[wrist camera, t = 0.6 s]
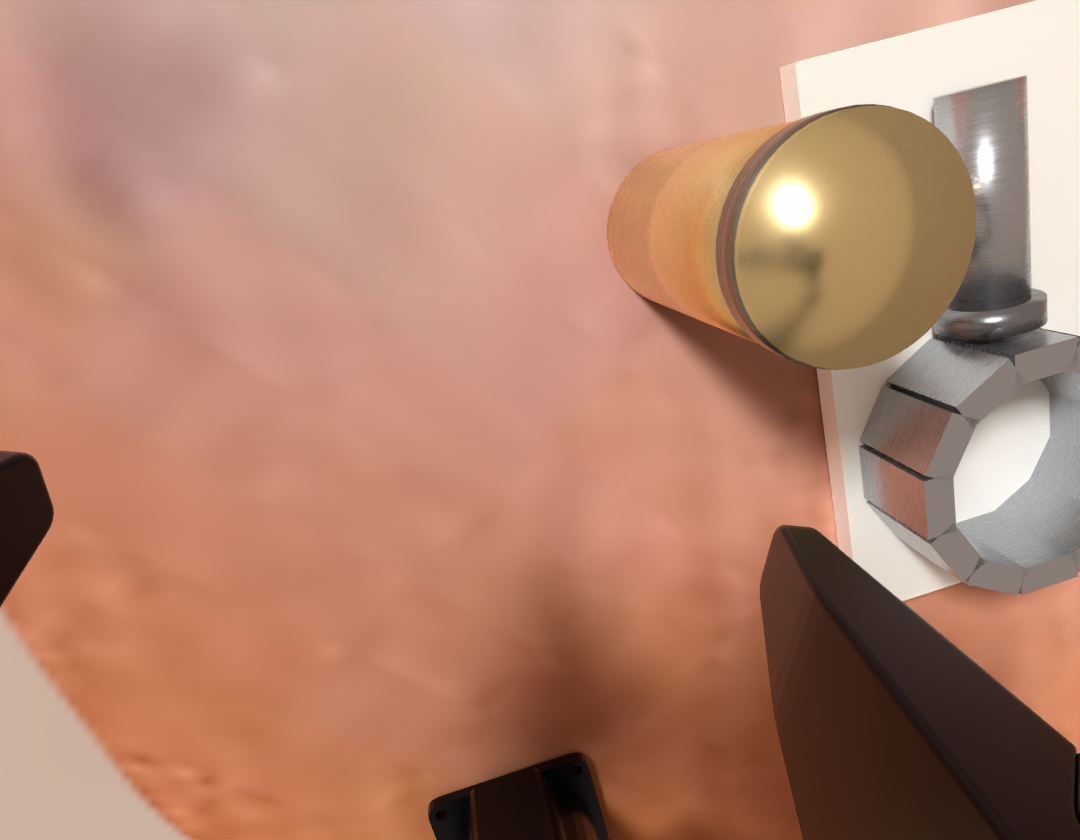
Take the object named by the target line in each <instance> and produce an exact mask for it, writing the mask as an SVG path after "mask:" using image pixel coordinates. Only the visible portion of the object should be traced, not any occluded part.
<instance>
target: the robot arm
mask: <svg viewBox="0 0 1080 840" xmlns="http://www.w3.org/2000/svg"><path fill="white" fill-rule="evenodd" d="M53 516H54V509H53V505H52V502H51V499H50V496H49V493H48V490H47V487H46V484H45V481H44V478H43V476H42V473H41V470H40V467H39V464H38V462H37V461H36V460H35V459H34V457H33V456H31V455H29V454H27V453H21V452H10V451H0V607H1V605H2V604H3V602H4V600H5V599H6V597H7V596H8V594H9V592H10V591H11V589H12V588H13V586H14V584H15V583H16V581H17V580H18V578H19V576H20V575H21V573H22V572H23V570H24V569H25V567H26V565H27V564H28V562H29V561H30V559H31V557H32V556H33V554H34V553H35V551H36V549H37V548H38V546H39V545H40V543H41V542H42V540H43V538H44V537H45V535H46V534H47V532H48V530H49V529H50V527H51V524H52V521H53ZM760 601H761V609H762V618H763V626H764V635H765V643H766V652H767V660H768V669H769V677H770V686H771V695H772V702H773V709H774V716H775V721H776V726H777V730H778V735H779V740H780V744H781V748H782V752H783V756H784V760H785V765H786V769H787V773H788V777H789V781H790V786H791V790H792V794H793V798H794V802H795V806H796V811H797V815H798V819H799V823H800V827H801V832H802V836H803V840H1080V753H1078V754H1076V753H1077V751H1076V747H1075V746H1074V745H1073V744H1072V743H1071V742H1069V741H1068V740H1067V739H1066V738H1065V737H1063V736H1062V735H1061V734H1060V733H1059V732H1058V731H1056V730H1055V729H1054V728H1053V727H1052V726H1050V725H1049V724H1048V723H1047V722H1046V721H1044V720H1043V719H1042V718H1041V717H1040V716H1038V715H1037V714H1036V713H1035V712H1034V711H1032V710H1031V709H1030V708H1029V707H1028V706H1026V705H1025V704H1024V703H1023V702H1022V701H1020V700H1019V699H1018V698H1017V697H1016V696H1015V695H1013V694H1012V693H1011V692H1010V691H1009V690H1007V689H1006V688H1005V687H1004V686H1003V685H1001V684H1000V683H999V682H998V681H997V680H995V679H994V678H993V677H992V676H991V675H989V674H988V673H987V672H986V671H985V670H983V669H982V668H981V667H980V666H979V665H977V664H976V663H975V662H974V661H973V660H972V659H970V658H969V657H968V656H967V655H966V654H964V653H963V652H962V651H961V650H960V649H958V648H957V647H956V646H955V645H954V644H952V643H951V642H950V641H949V640H948V639H946V638H945V637H944V636H943V635H942V634H940V633H939V632H938V631H937V630H936V629H934V628H933V627H932V626H931V625H930V624H928V623H927V622H926V621H925V620H924V619H923V618H921V617H920V616H919V615H918V614H917V613H915V612H914V611H913V610H912V609H911V608H909V607H908V606H907V605H906V604H905V603H903V602H902V601H901V600H900V599H899V598H897V597H896V596H895V595H894V594H893V593H891V592H890V591H889V590H888V589H887V588H885V587H884V586H883V585H882V584H881V583H880V582H878V581H877V580H876V579H875V578H874V577H872V576H871V575H870V574H869V573H868V572H866V571H865V570H864V569H863V568H862V567H860V566H859V565H858V564H857V563H856V562H854V561H853V560H852V559H851V558H850V557H848V556H847V555H846V554H845V553H844V552H842V551H841V550H840V549H839V548H838V547H837V546H835V545H834V544H833V543H832V542H831V541H829V540H828V539H827V538H826V537H825V536H823V535H822V534H821V533H820V532H818V531H817V530H816V529H814V528H810V527H800V526H789V525H781V526H780V527H778V528H777V529H776V531H775V533H774V535H773V538H772V542H771V545H770V549H769V552H768V556H767V559H766V563H765V566H764V570H763V574H762V577H761V583H760ZM576 765H579V766H578V767H577V768H572V767H573V766H576ZM439 810H445V811H444V812H438V811H439ZM428 816H429V821H430V824H431V826H432V829H433V831H434V834H435V836H436V839H437V840H609V838H608V834H607V831H606V827H605V824H604V820H603V817H602V813H601V810H600V806H599V803H598V799H597V796H596V792H595V789H594V785H593V782H592V778H591V775H590V771H589V768H588V764H587V761H586V758H585V757H584V756H583V755H582V754H580V753H572V754H568V755H565V756H562V757H559V758H556V759H553V760H550V761H547V762H544V763H541V764H538V765H535V766H532V767H529V768H526V769H523V770H520V771H517V772H514V773H511V774H508V775H505V776H502V777H499V778H496V779H493V780H490V781H487V782H484V783H480V784H477V785H474V786H471V787H468V788H465V789H462V790H459V791H456V792H453V793H450V794H447V795H444V796H441V797H438V798H436V799H434V800H433V801H432V802H431V803H430V804H429V807H428Z"/></svg>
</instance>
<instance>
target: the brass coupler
mask: <svg viewBox="0 0 1080 840" xmlns="http://www.w3.org/2000/svg"><path fill="white" fill-rule="evenodd" d="M975 233H976V204H975V195H974V191H973V187H972V182H971V179H970V176H969V173H968V171H967V168H966V165H965V163H964V161H963V160H962V158H961V156H960V154H959V152H958V151H957V149H956V148H955V147H954V145H953V144H952V143H951V141H950V140H949V139H948V138H947V137H946V136H945V135H944V134H943V133H942V132H941V131H940V130H939V129H938V128H937V127H936V126H934V125H933V124H931V123H930V122H929V121H927V120H926V119H924V118H922V117H920V116H918V115H916V114H914V113H912V112H909V111H906V110H902V109H899V108H895V107H891V106H885V105H877V104H859V105H852V106H847V107H841V108H837V109H832V110H828V111H824V112H819V113H816V114H813V115H810V116H807V117H804V118H801V119H799V120H796V121H791V122H787V123H783V124H778V125H774V126H769V127H765V128H760V129H756V130H751V131H747V132H742V133H738V134H733V135H729V136H724V137H720V138H716V139H711V140H707V141H702V142H698V143H693V144H689V145H684V146H680V147H675V148H671V149H667V150H664V151H661V152H658V153H656V154H654V155H652V156H650V157H648V158H647V159H645V160H644V161H642V162H641V163H639V164H638V165H637V166H636V167H635V168H634V169H633V170H632V171H631V172H630V173H629V174H628V175H627V176H626V178H625V179H624V180H623V182H622V183H621V185H620V186H619V188H618V190H617V192H616V194H615V196H614V199H613V201H612V204H611V207H610V211H609V216H608V224H607V239H608V246H609V251H610V254H611V258H612V260H613V263H614V265H615V267H616V269H617V271H618V272H619V274H620V276H621V277H622V278H623V280H624V281H625V282H626V283H627V284H628V285H629V286H630V287H631V288H632V289H633V290H634V291H636V292H637V293H638V294H640V295H641V296H643V297H645V298H647V299H649V300H651V301H654V302H656V303H658V304H661V305H663V306H666V307H668V308H671V309H673V310H676V311H678V312H680V313H683V314H685V315H688V316H690V317H693V318H695V319H698V320H700V321H703V322H705V323H707V324H710V325H712V326H715V327H717V328H720V329H722V330H725V331H727V332H729V333H732V334H734V335H737V336H739V337H742V338H744V339H747V340H749V341H752V342H754V343H756V344H759V345H761V346H762V347H764V348H766V349H767V350H769V351H771V352H773V353H775V354H777V355H779V356H782V357H784V358H787V359H789V360H792V361H794V362H797V363H800V364H802V365H805V366H808V367H813V368H818V369H828V370H844V369H855V368H861V367H865V366H870V365H873V364H876V363H879V362H881V361H884V360H887V359H889V358H891V357H893V356H895V355H897V354H899V353H900V352H902V351H903V350H905V349H906V348H908V347H909V346H911V345H912V344H914V343H915V342H916V341H917V340H919V339H920V338H921V337H922V336H923V335H925V334H926V333H927V332H928V331H929V330H930V329H931V328H932V327H933V325H934V324H935V323H936V322H937V321H938V320H939V319H940V317H941V316H942V315H943V314H944V312H945V311H946V310H947V308H948V307H949V305H950V304H951V302H952V300H953V299H954V297H955V296H956V294H957V292H958V290H959V288H960V286H961V284H962V282H963V279H964V277H965V274H966V272H967V269H968V266H969V263H970V260H971V255H972V251H973V247H974V241H975Z"/></svg>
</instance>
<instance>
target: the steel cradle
mask: <svg viewBox="0 0 1080 840" xmlns="http://www.w3.org/2000/svg"><path fill="white" fill-rule="evenodd" d="M933 107H934V123H935V126H936V127H937V128H938V129H939V130H940V131H941V132H942V133H943V134H944V135H945V136H946V137H947V138H948V139H949V140H950V141H951V143H952V144H953V145H954V147H955V148H956V149H957V151H958V152H959V154H960V156H961V158H962V160H963V161H964V163H965V165H966V168H967V171H968V173H969V176H970V179H971V182H972V187H973V191H974V195H975V204H976V233H975V241H974V247H973V251H972V255H971V260H970V263H969V266H968V269H967V272H966V274H965V277H964V279H963V282H962V284H961V286H960V288H959V290H958V292H957V294H956V296H955V297H954V299H953V300H952V302H951V304H950V305H949V307H948V308H947V310H946V311H945V312H944V314H943V315H942V316H941V317H940V319H939V320H938V321H937V322H936V323H935V324H934V325H933V328H934V332H935V333H936V334H937V335H936V339H932V338H930V339H929V340H928V341H927V342H926V343H925V344H924V345H923V346H922V347H921V348H920V349H918V350H917V351H916V352H915V353H914V354H913V355H912V356H911V357H910V358H909V359H908V360H907V361H906V362H905V363H904V364H902V365H901V366H900V367H899V368H898V369H897V370H896V371H895V372H894V373H893V374H892V375H891V376H890V377H889V378H887V379H886V380H885V381H886V382H887V384H888V385H889V386H890V387H891V388H889V387H886V386H881V389H880V391H879V394H878V396H877V399H876V401H875V404H874V406H873V409H872V411H871V413H870V416H869V418H868V421H867V423H866V426H865V428H864V431H863V433H862V436H861V438H860V440H859V441H861V442H862V443H864V445H860V446H859V455H860V464H861V473H862V482H863V492H864V498H865V499H867V501H866V503H867V504H868V505H869V506H870V507H871V508H872V509H873V511H874V512H875V513H876V514H877V515H878V516H879V517H880V519H881V520H882V521H883V522H884V523H885V524H886V525H887V527H888V528H889V529H890V530H891V531H892V532H893V533H894V535H895V536H896V537H898V538H899V539H901V540H902V541H903V542H905V543H906V544H908V545H909V546H911V547H912V548H914V549H915V550H916V551H918V552H919V553H921V554H922V555H924V556H925V557H927V558H928V559H929V560H931V561H932V562H934V563H935V564H937V565H938V566H940V567H941V568H942V569H944V570H945V571H947V572H948V573H950V574H951V575H952V576H954V577H955V578H957V579H958V580H960V581H961V582H963V583H965V584H966V585H970V586H975V587H980V588H984V589H989V590H994V591H999V592H1004V593H1009V594H1014V595H1017V594H1018V592H1019V593H1020V594H1022V595H1023V594H1026V593H1029V592H1032V591H1035V590H1038V589H1041V588H1044V587H1047V586H1050V585H1053V584H1056V583H1059V582H1062V581H1065V580H1069V579H1072V578H1075V577H1078V571H1079V572H1080V336H1078V335H1072V334H1067V333H1062V332H1057V331H1052V330H1047V329H1042V328H1040V327H1042V326H1044V325H1045V324H1046V323H1047V321H1048V312H1047V294H1046V293H1045V292H1044V291H1041V290H1038V289H1033V288H1032V280H1031V234H1030V187H1029V140H1028V94H1027V75H1024V76H1019V77H1014V78H1010V79H1005V80H1001V81H997V82H992V83H988V84H984V85H980V86H976V87H972V88H968V89H964V90H960V91H956V92H952V93H948V94H944V95H941V96H937V97H934V98H933ZM1038 379H1040V380H1041V381H1042V382H1043V384H1044V385H1045V387H1046V388H1047V390H1048V391H1049V404H1050V437H1049V439H1048V441H1047V443H1046V446H1045V448H1044V450H1043V452H1042V454H1041V456H1040V458H1039V460H1038V462H1037V465H1036V467H1035V469H1034V471H1033V473H1032V475H1031V477H1030V479H1029V480H1028V481H1027V482H1026V483H1025V484H1024V485H1022V486H1021V487H1020V488H1019V489H1018V490H1017V491H1016V492H1015V493H1014V494H1012V495H1011V496H1010V497H1009V498H1008V499H1007V500H1006V501H1005V502H1004V503H1002V504H1001V505H1000V506H999V507H998V508H997V509H996V510H995V511H992V512H989V513H986V514H983V515H980V516H977V517H973V518H970V519H967V520H964V521H961V522H958V523H956V513H955V497H954V481H953V477H954V475H955V472H956V470H957V468H958V466H959V463H960V461H961V459H962V457H963V454H964V452H965V450H966V448H967V445H968V443H969V441H970V439H971V436H972V434H973V432H974V430H975V428H976V425H977V424H978V423H979V422H980V421H982V420H983V419H984V418H985V417H986V416H987V415H988V414H989V413H990V412H991V411H992V410H994V409H995V408H996V407H997V406H998V405H999V404H1000V403H1001V402H1002V401H1003V400H1005V399H1006V398H1007V397H1008V396H1009V395H1010V394H1011V393H1012V392H1013V391H1014V390H1015V389H1017V388H1018V387H1019V386H1020V385H1021V384H1025V383H1028V382H1031V381H1035V380H1038Z"/></svg>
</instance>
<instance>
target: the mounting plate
mask: <svg viewBox="0 0 1080 840" xmlns="http://www.w3.org/2000/svg"><path fill="white" fill-rule="evenodd" d="M779 71H780V79H781V87H782V95H783V103H784V112H785V120H786V123H787V122H791V121H796V120H799V119H801V118H804V117H807V116H810V115H813V114H816V113H819V112H824V111H828V110H832V109H837V108H841V107H847V106H852V105H859V104H877V105H885V106H891V107H895V108H899V109H902V110H906V111H909V112H912V113H914V114H916V115H918V116H920V117H922V118H924V119H926V120H927V121H929V122H930V123H931V124H933V125H934V126H935V123H934V107H933V98H934V97H937V96H941V95H944V94H948V93H952V92H956V91H960V90H964V89H968V88H972V87H976V86H980V85H984V84H988V83H992V82H997V81H1001V80H1005V79H1010V78H1014V77H1019V76H1024V75H1027V94H1028V140H1029V187H1030V234H1031V280H1032V288H1033V289H1038V290H1041V291H1044V292H1045V293H1046V294H1047V312H1048V321H1047V323H1046V324H1045V325H1044V326H1042V327H1040V328H1042V329H1047V330H1052V331H1057V332H1062V333H1067V334H1072V335H1078V336H1080V0H1037V1H1033V2H1029V3H1025V4H1021V5H1017V6H1013V7H1009V8H1005V9H1002V10H998V11H994V12H990V13H986V14H982V15H978V16H974V17H970V18H966V19H962V20H958V21H954V22H951V23H947V24H943V25H939V26H935V27H931V28H927V29H923V30H919V31H915V32H911V33H907V34H903V35H900V36H896V37H892V38H888V39H884V40H880V41H876V42H872V43H868V44H864V45H860V46H856V47H853V48H849V49H845V50H841V51H837V52H833V53H829V54H825V55H821V56H817V57H813V58H809V59H805V60H802V61H798V62H794V63H791V64H789V65H786V66H784V67H781V68H779ZM936 335H937V334H936V333H935V332H934V328H933V327H932V328H931V329H930V330H929V331H928V332H927V333H926V334H925V335H923V336H922V337H921V338H920V339H919V340H917V341H916V342H915V343H914V344H912V345H911V346H909V347H908V348H906V349H905V350H903V351H902V352H900V353H899V354H897V355H895V356H893V357H891V358H889V359H887V360H884V361H881V362H879V363H876V364H873V365H870V366H865V367H861V368H855V369H844V370H828V369H818V368H816V370H817V378H818V386H819V394H820V402H821V410H822V419H823V427H824V435H825V443H826V451H827V459H828V467H829V475H830V483H831V491H832V499H833V507H834V515H835V524H836V532H837V540H838V548H839V549H840V550H841V551H842V552H844V553H845V554H846V555H847V556H848V557H850V558H851V559H852V560H853V561H854V562H856V563H857V564H858V565H859V566H860V567H862V568H863V569H864V570H865V571H866V572H868V573H869V574H870V575H871V576H872V577H874V578H875V579H876V580H877V581H878V582H880V583H881V584H882V585H883V586H884V587H885V588H887V589H888V590H889V591H890V592H891V593H893V594H894V595H895V596H896V597H897V598H899V599H900V600H901V601H905V600H908V599H911V598H914V597H917V596H920V595H924V594H927V593H930V592H933V591H936V590H939V589H942V588H945V587H948V586H951V585H954V584H957V583H961V581H960V580H958V579H957V578H955V577H954V576H952V575H951V574H950V573H948V572H947V571H945V570H944V569H942V568H941V567H940V566H938V565H937V564H935V563H934V562H932V561H931V560H929V559H928V558H927V557H925V556H924V555H922V554H921V553H919V552H918V551H916V550H915V549H914V548H912V547H911V546H909V545H908V544H906V543H905V542H903V541H902V540H901V539H899V538H898V537H896V536H895V535H894V533H893V532H892V531H891V530H890V529H889V528H888V527H887V525H886V524H885V523H884V522H883V521H882V520H881V519H880V517H879V516H878V515H877V514H876V513H875V512H874V511H873V509H872V508H871V507H870V506H869V505H868V504H867V503H866V501H867V499H865V498H864V492H863V482H862V473H861V464H860V455H859V446H860V445H864V443H862V442H861V441H859V440H860V438H861V436H862V433H863V431H864V428H865V426H866V423H867V421H868V418H869V416H870V413H871V411H872V409H873V406H874V404H875V401H876V399H877V396H878V394H879V391H880V389H881V386H886V387H889V388H891V387H890V386H889V385H888V384H887V382H886V381H885V380H886V379H887V378H889V377H890V376H891V375H892V374H893V373H894V372H895V371H896V370H897V369H898V368H899V367H900V366H901V365H902V364H904V363H905V362H906V361H907V360H908V359H909V358H910V357H911V356H912V355H913V354H914V353H915V352H916V351H917V350H918V349H920V348H921V347H922V346H923V345H924V344H925V343H926V342H927V341H928V340H929V339H930V338H932V339H936ZM1049 437H1050V404H1049V391H1048V390H1047V388H1046V387H1045V385H1044V384H1043V382H1042V381H1041V380H1040V379H1038V380H1035V381H1031V382H1028V383H1025V384H1021V385H1020V386H1019V387H1018V388H1017V389H1015V390H1014V391H1013V392H1012V393H1011V394H1010V395H1009V396H1008V397H1007V398H1006V399H1005V400H1003V401H1002V402H1001V403H1000V404H999V405H998V406H997V407H996V408H995V409H994V410H992V411H991V412H990V413H989V414H988V415H987V416H986V417H985V418H984V419H983V420H982V421H980V422H979V423H978V424H977V425H976V428H975V430H974V432H973V434H972V436H971V439H970V441H969V443H968V445H967V448H966V450H965V452H964V454H963V457H962V459H961V461H960V463H959V466H958V468H957V470H956V472H955V475H954V477H953V481H954V497H955V513H956V523H958V522H961V521H964V520H967V519H970V518H973V517H977V516H980V515H983V514H986V513H989V512H992V511H995V510H996V509H997V508H998V507H999V506H1000V505H1001V504H1002V503H1004V502H1005V501H1006V500H1007V499H1008V498H1009V497H1010V496H1011V495H1012V494H1014V493H1015V492H1016V491H1017V490H1018V489H1019V488H1020V487H1021V486H1022V485H1024V484H1025V483H1026V482H1027V481H1028V480H1029V479H1030V477H1031V475H1032V473H1033V471H1034V469H1035V467H1036V465H1037V462H1038V460H1039V458H1040V456H1041V454H1042V452H1043V450H1044V448H1045V446H1046V443H1047V441H1048V439H1049Z"/></svg>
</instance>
